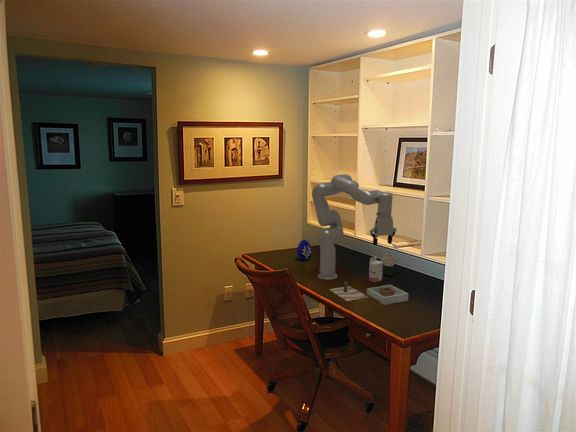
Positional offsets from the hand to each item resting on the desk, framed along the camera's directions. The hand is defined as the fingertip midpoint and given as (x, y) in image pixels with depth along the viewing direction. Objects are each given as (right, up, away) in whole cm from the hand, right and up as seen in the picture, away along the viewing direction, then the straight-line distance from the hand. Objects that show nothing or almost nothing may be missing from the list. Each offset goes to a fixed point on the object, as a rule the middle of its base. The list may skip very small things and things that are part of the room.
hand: (382, 244), depth 255 cm
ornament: (-42, -16, +70) cm, 83 cm away
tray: (+1, -29, -5) cm, 30 cm away
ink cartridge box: (+1, -24, +25) cm, 34 cm away
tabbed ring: (+1, -28, -5) cm, 29 cm away
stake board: (-19, -29, -1) cm, 35 cm away
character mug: (+11, -22, +36) cm, 43 cm away
